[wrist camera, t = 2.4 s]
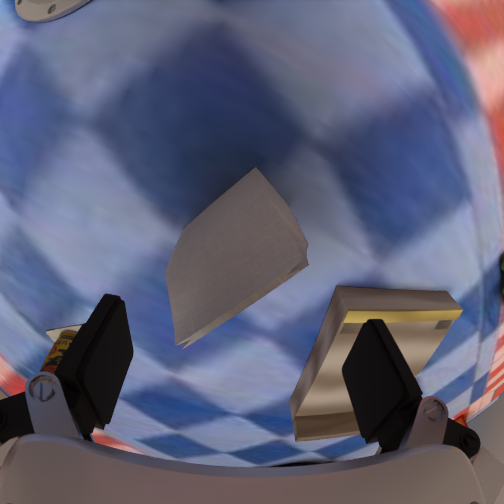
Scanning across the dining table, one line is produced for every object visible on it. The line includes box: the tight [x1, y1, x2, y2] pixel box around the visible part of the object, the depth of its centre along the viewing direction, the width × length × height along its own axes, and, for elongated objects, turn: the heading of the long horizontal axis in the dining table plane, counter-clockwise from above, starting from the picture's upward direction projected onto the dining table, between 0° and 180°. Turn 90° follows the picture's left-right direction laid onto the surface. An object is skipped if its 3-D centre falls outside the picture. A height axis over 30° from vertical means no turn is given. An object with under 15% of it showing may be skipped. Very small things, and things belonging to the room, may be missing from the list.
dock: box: [289, 286, 463, 442], centre depth 25 cm, size 18×14×6 cm
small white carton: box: [165, 167, 309, 350], centre depth 15 cm, size 4×7×10 cm, turn 130°
